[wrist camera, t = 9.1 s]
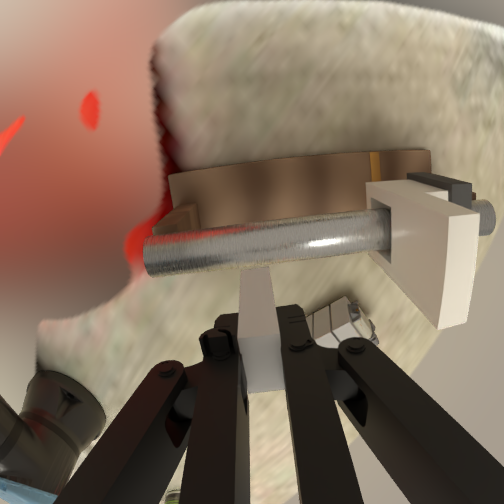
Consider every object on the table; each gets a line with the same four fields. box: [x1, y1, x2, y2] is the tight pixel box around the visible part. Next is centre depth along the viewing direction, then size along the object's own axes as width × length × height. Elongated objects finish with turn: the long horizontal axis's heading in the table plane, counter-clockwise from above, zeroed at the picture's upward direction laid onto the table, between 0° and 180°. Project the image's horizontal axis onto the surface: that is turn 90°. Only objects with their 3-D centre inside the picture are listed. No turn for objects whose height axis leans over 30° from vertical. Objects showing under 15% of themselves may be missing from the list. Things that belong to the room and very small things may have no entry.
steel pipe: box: [143, 199, 496, 278], centre depth 22 cm, size 27×3×3 cm, turn 97°
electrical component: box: [306, 296, 379, 348], centre depth 38 cm, size 24×6×5 cm, turn 128°
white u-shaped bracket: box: [366, 180, 480, 330], centre depth 19 cm, size 4×6×12 cm, turn 7°
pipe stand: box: [152, 150, 476, 236], centre depth 28 cm, size 28×10×10 cm, turn 97°
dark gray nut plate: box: [407, 172, 472, 210], centre depth 22 cm, size 2×7×7 cm, turn 7°
